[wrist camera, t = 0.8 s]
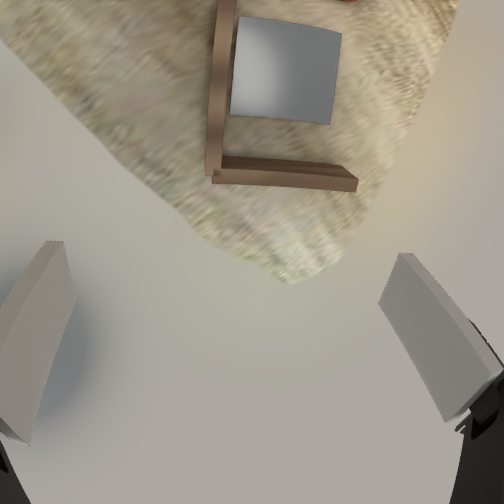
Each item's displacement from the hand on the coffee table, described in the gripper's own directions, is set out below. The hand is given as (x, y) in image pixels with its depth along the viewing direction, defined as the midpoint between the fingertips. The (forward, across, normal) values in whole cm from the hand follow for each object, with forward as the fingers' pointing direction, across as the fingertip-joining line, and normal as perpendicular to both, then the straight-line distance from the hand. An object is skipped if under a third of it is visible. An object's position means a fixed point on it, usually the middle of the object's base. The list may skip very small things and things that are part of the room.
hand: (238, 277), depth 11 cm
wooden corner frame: (+24, +6, +7) cm, 26 cm away
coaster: (+24, +6, +8) cm, 27 cm away
